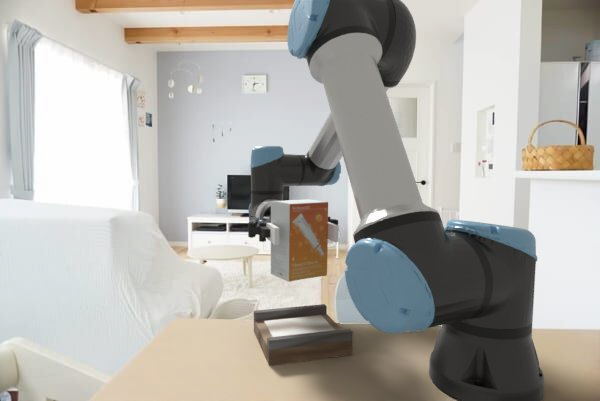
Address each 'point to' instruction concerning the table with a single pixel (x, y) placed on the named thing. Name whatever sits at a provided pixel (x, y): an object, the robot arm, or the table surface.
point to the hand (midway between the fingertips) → (307, 235)
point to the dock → (300, 334)
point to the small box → (300, 239)
